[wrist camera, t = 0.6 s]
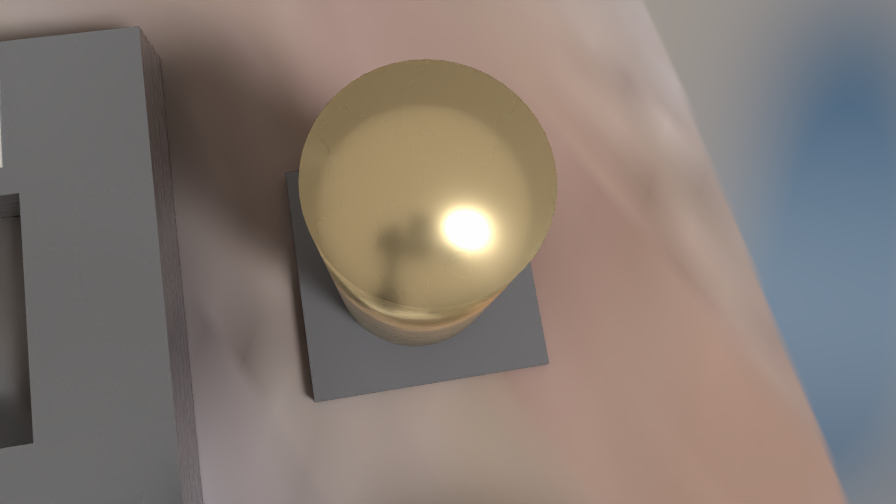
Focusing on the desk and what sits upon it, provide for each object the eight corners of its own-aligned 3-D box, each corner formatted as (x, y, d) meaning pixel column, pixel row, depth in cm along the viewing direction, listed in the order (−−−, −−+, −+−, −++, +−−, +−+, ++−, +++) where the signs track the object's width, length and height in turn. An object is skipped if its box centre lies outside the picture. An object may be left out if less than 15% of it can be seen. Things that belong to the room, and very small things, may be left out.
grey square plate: (546, 364, 23) (549, 363, 22) (315, 402, 22) (314, 402, 22) (506, 147, 24) (508, 143, 24) (287, 176, 23) (285, 172, 23)
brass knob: (506, 333, 22) (579, 287, 14) (347, 358, 22) (316, 327, 13) (479, 181, 23) (531, 45, 15) (326, 202, 23) (283, 75, 14)
